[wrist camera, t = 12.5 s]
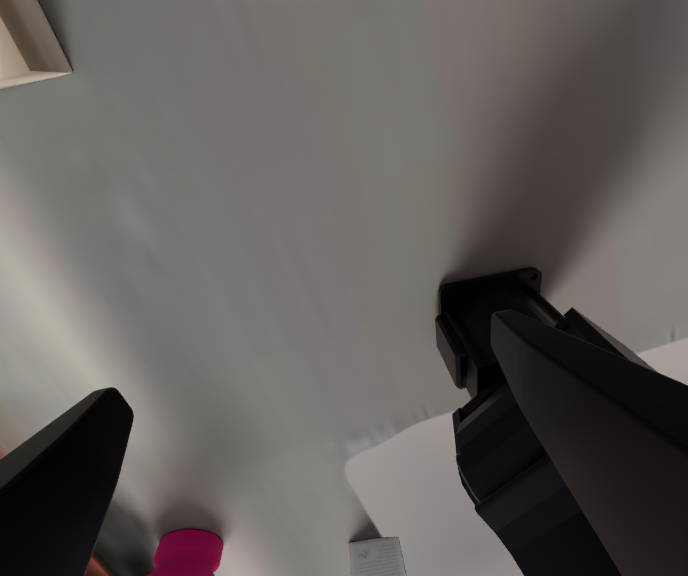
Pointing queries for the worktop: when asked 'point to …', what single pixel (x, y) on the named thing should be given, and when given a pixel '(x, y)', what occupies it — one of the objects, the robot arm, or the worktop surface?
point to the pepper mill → (188, 554)
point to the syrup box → (376, 557)
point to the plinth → (28, 45)
